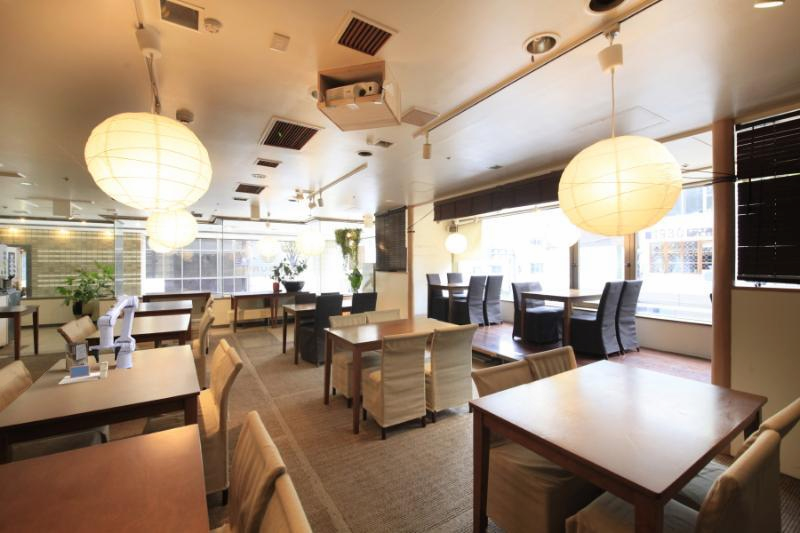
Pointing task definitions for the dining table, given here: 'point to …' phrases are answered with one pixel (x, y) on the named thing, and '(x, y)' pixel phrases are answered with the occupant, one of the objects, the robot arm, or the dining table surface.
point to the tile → (79, 371)
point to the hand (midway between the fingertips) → (106, 361)
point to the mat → (80, 378)
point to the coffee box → (76, 354)
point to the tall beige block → (103, 369)
